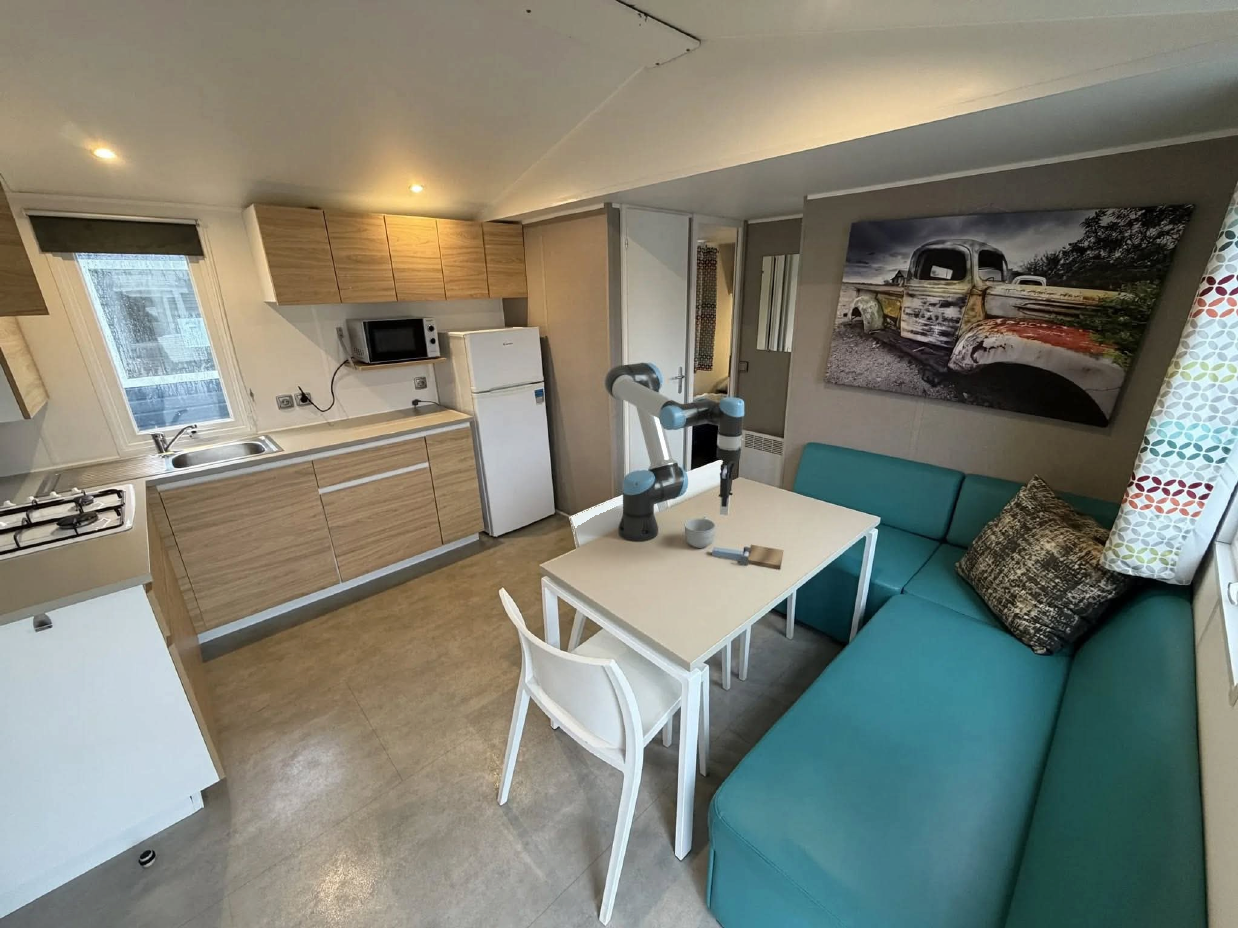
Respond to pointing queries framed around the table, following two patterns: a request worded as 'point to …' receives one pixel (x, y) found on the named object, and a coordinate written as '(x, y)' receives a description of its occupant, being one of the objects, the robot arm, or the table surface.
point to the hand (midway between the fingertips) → (724, 513)
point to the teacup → (700, 532)
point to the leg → (728, 553)
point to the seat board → (765, 556)
